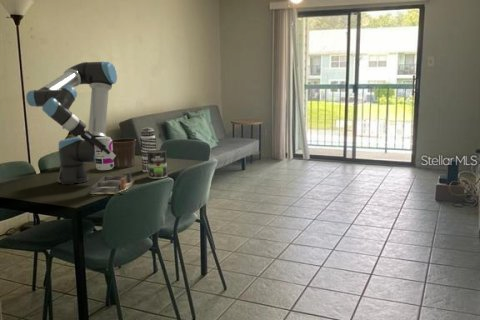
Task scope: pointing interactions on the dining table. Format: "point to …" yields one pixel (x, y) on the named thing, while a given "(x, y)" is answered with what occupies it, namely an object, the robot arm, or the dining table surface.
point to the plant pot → (124, 152)
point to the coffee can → (157, 164)
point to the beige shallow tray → (112, 184)
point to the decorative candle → (147, 145)
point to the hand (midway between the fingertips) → (111, 156)
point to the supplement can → (101, 158)
